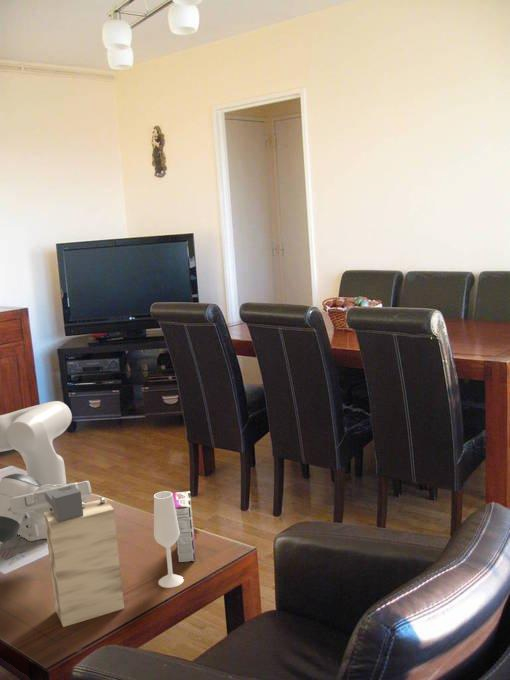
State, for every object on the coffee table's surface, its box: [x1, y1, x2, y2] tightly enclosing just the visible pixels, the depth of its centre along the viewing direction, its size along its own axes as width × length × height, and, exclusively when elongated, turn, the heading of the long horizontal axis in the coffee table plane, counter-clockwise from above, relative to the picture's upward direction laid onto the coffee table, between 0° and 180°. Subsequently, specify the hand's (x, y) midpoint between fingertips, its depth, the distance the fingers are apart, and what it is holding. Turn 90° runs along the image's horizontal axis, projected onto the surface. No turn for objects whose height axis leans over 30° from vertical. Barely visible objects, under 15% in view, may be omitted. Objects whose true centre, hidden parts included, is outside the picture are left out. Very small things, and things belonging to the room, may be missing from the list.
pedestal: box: [44, 496, 125, 628], centre depth 180 cm, size 8×15×27 cm, turn 117°
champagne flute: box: [153, 490, 185, 589], centre depth 192 cm, size 7×7×24 cm
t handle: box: [45, 488, 83, 523], centre depth 180 cm, size 16×6×6 cm, turn 31°
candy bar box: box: [173, 490, 196, 563], centre depth 207 cm, size 11×5×16 cm, turn 5°
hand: (54, 491), depth 184 cm, fingers open, 8 cm apart
